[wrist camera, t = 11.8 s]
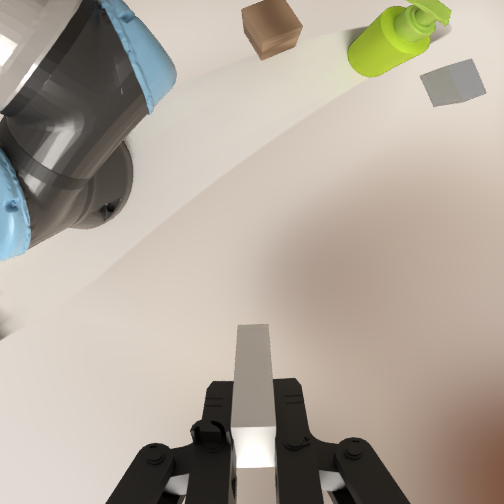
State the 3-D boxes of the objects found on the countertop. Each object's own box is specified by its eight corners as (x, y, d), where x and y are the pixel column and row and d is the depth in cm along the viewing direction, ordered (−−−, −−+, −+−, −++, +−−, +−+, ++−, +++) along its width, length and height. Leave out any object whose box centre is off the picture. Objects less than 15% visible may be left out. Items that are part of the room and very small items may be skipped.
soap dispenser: (348, 29, 34) (404, -37, 16) (391, 52, 35) (469, 6, 16) (334, 61, 36) (389, 5, 17) (379, 84, 37) (458, 50, 18)
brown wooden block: (261, 60, 37) (262, 42, 29) (244, 32, 35) (241, 9, 28) (295, 46, 36) (304, 26, 28) (278, 18, 34) (282, -7, 27)
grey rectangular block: (433, 106, 37) (463, 102, 30) (419, 75, 36) (447, 65, 28) (456, 97, 37) (487, 92, 29) (443, 68, 35) (472, 58, 28)
